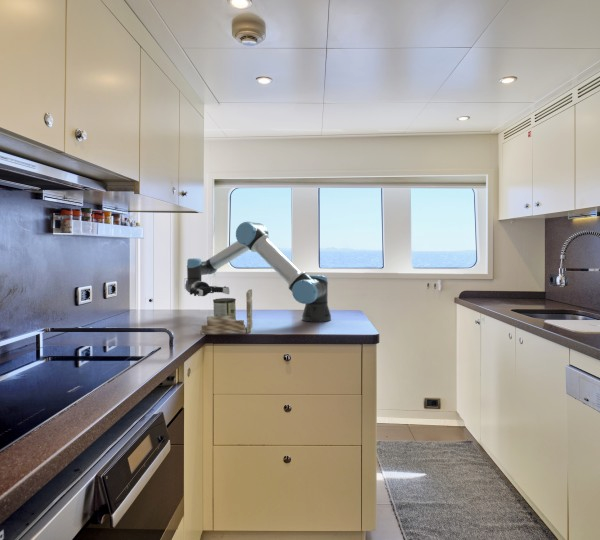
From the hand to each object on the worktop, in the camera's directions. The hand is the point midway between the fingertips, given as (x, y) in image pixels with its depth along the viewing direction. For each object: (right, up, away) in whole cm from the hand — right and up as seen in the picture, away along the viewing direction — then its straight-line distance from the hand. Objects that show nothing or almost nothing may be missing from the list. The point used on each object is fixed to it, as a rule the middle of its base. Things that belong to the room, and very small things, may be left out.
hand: (215, 292), depth 200 cm
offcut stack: (+7, -16, -17) cm, 24 cm away
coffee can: (+6, -17, -7) cm, 20 cm away
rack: (+7, -17, -10) cm, 21 cm away
